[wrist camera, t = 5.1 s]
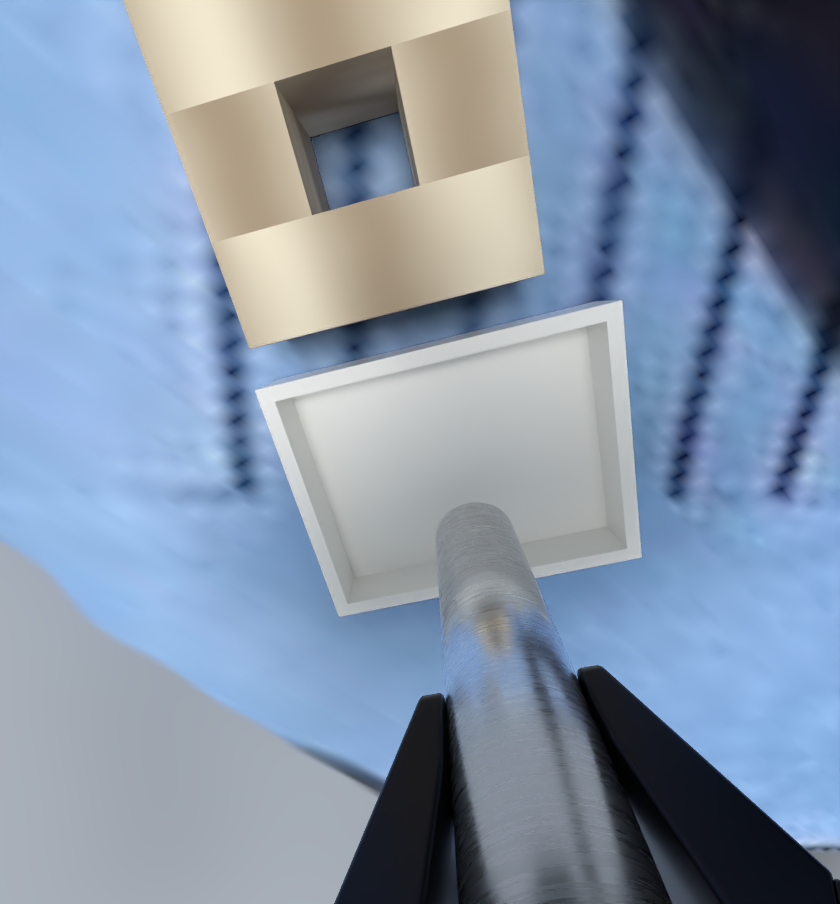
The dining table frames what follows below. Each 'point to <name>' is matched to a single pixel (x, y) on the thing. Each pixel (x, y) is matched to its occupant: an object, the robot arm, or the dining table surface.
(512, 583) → the pin
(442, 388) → the tray
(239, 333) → the dining table surface
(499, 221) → the block
